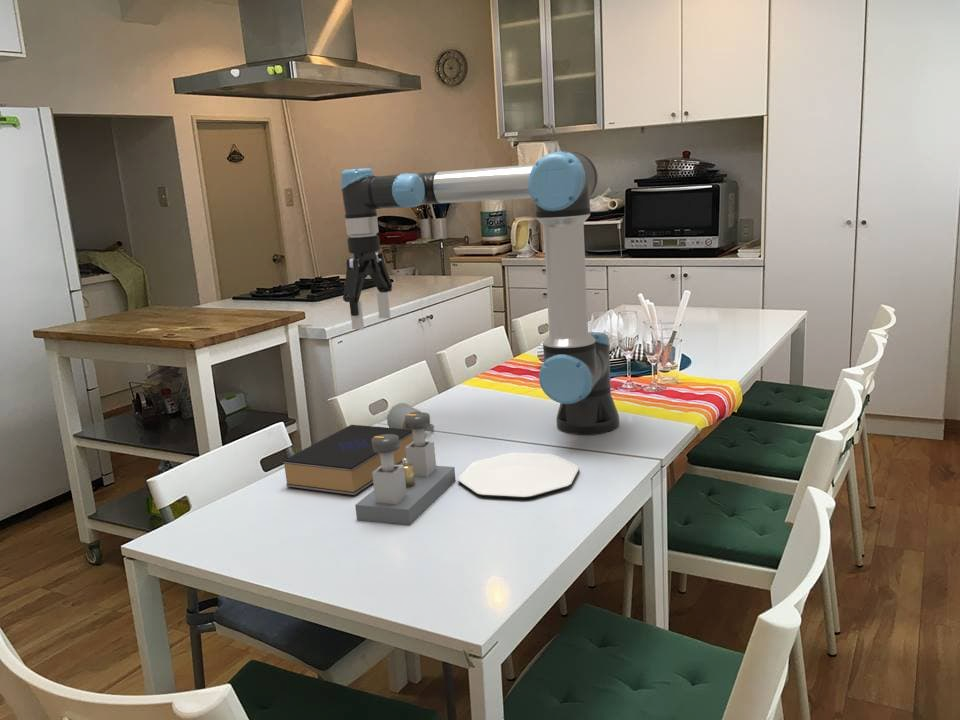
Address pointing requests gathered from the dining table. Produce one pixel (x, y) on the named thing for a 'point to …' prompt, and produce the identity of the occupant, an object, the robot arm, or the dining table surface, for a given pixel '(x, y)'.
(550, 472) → the plate
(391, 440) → the knob
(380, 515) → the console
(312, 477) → the book
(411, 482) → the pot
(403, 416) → the ceramic mug
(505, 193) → the robot arm
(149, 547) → the dining table surface
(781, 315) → the dining table surface
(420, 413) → the knob
